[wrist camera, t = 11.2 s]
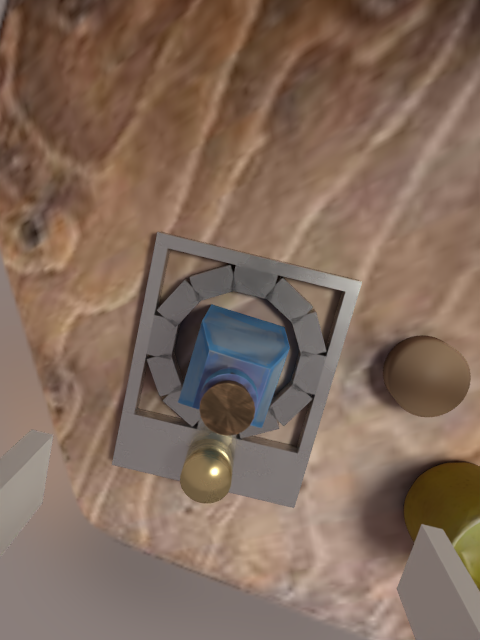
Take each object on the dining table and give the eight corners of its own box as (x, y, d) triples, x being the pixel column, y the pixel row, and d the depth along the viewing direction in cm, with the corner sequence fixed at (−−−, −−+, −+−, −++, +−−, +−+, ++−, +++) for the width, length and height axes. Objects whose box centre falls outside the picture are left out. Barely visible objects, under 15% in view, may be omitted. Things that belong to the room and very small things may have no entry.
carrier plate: (160, 231, 35) (148, 232, 31) (358, 280, 35) (371, 287, 31) (116, 457, 39) (99, 484, 35) (293, 499, 40) (297, 531, 36)
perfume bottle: (190, 373, 38) (160, 441, 26) (211, 304, 36) (189, 342, 25) (261, 395, 38) (262, 472, 26) (284, 327, 37) (296, 376, 25)
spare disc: (395, 327, 36) (405, 334, 34) (466, 344, 36) (481, 353, 34) (373, 395, 38) (381, 407, 35) (442, 411, 38) (455, 424, 35)
